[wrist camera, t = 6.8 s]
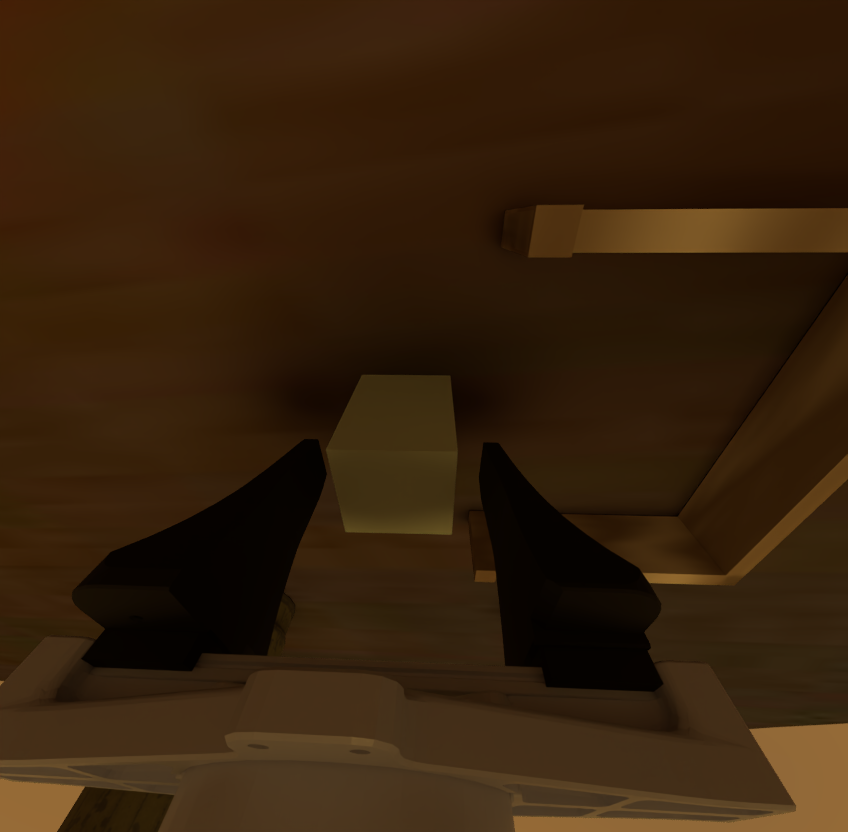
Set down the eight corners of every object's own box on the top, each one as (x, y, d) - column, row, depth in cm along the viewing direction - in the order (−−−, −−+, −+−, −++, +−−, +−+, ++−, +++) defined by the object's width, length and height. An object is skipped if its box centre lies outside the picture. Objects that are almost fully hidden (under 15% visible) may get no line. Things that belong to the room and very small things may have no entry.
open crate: (923, 207, 11) (1160, 201, 7) (684, 527, 21) (736, 589, 17) (505, 210, 11) (536, 205, 8) (468, 521, 21) (474, 581, 18)
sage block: (450, 375, 15) (457, 451, 10) (447, 445, 18) (451, 534, 13) (362, 374, 15) (326, 449, 10) (371, 443, 18) (345, 531, 13)
